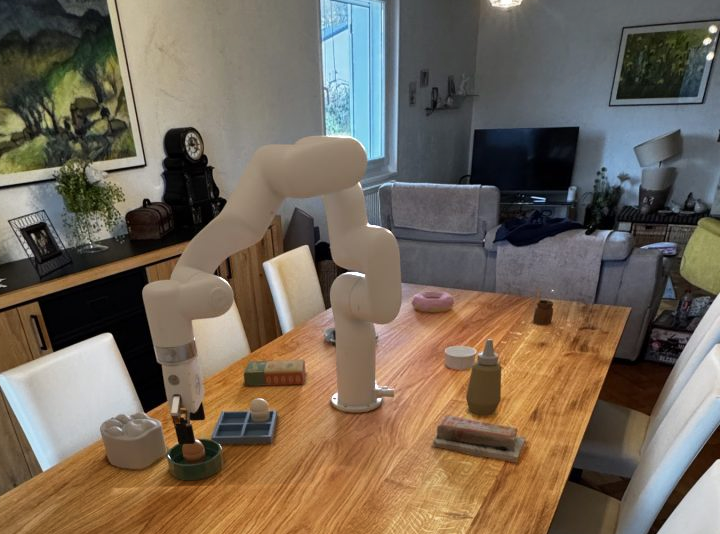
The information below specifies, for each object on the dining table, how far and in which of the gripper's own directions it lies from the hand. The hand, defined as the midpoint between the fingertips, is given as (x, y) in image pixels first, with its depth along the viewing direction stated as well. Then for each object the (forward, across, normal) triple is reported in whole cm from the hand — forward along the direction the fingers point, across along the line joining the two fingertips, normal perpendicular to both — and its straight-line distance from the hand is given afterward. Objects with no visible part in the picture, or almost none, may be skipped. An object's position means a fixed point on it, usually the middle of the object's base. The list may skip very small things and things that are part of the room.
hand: (192, 431), depth 115 cm
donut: (+11, +109, -64) cm, 126 cm away
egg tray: (+9, +16, -8) cm, 19 cm away
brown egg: (+8, 0, +1) cm, 8 cm away
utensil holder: (+11, +89, -98) cm, 132 cm away
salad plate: (+10, +78, -32) cm, 85 cm away
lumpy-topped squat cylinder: (+9, +6, +16) cm, 19 cm away
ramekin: (+10, +53, -64) cm, 83 cm away
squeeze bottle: (+10, +23, -64) cm, 68 cm away
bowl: (+9, 0, 0) cm, 9 cm away
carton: (+10, +46, -12) cm, 48 cm away
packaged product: (+10, +6, -60) cm, 61 cm away
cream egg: (+9, +19, -11) cm, 23 cm away
